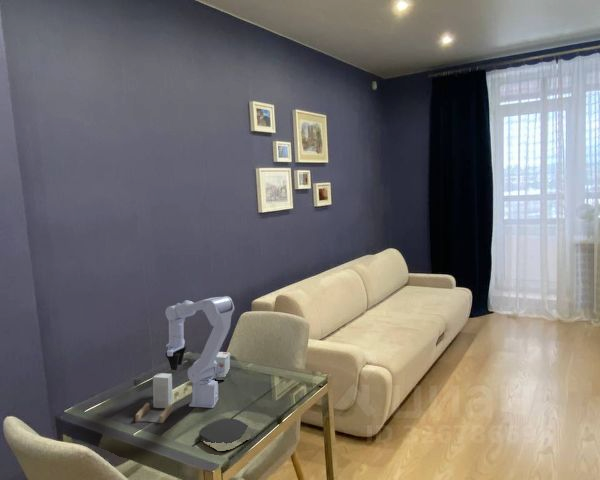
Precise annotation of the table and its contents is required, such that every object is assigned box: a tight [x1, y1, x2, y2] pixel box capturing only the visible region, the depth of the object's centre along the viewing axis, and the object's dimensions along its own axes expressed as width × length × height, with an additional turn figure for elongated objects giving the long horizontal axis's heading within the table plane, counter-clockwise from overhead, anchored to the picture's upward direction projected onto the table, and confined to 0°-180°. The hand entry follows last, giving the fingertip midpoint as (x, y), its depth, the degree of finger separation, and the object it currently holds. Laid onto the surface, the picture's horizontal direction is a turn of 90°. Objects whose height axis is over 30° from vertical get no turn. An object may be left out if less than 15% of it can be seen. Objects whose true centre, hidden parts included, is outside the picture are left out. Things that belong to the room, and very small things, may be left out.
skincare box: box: [152, 372, 173, 409], centre depth 166 cm, size 6×4×12 cm
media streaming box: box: [198, 418, 249, 444], centre depth 146 cm, size 15×15×3 cm
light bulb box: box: [213, 351, 231, 378], centre depth 193 cm, size 11×7×11 cm, turn 81°
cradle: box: [135, 402, 173, 424], centre depth 159 cm, size 10×9×2 cm
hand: (176, 367), depth 178 cm, fingers open, 5 cm apart
